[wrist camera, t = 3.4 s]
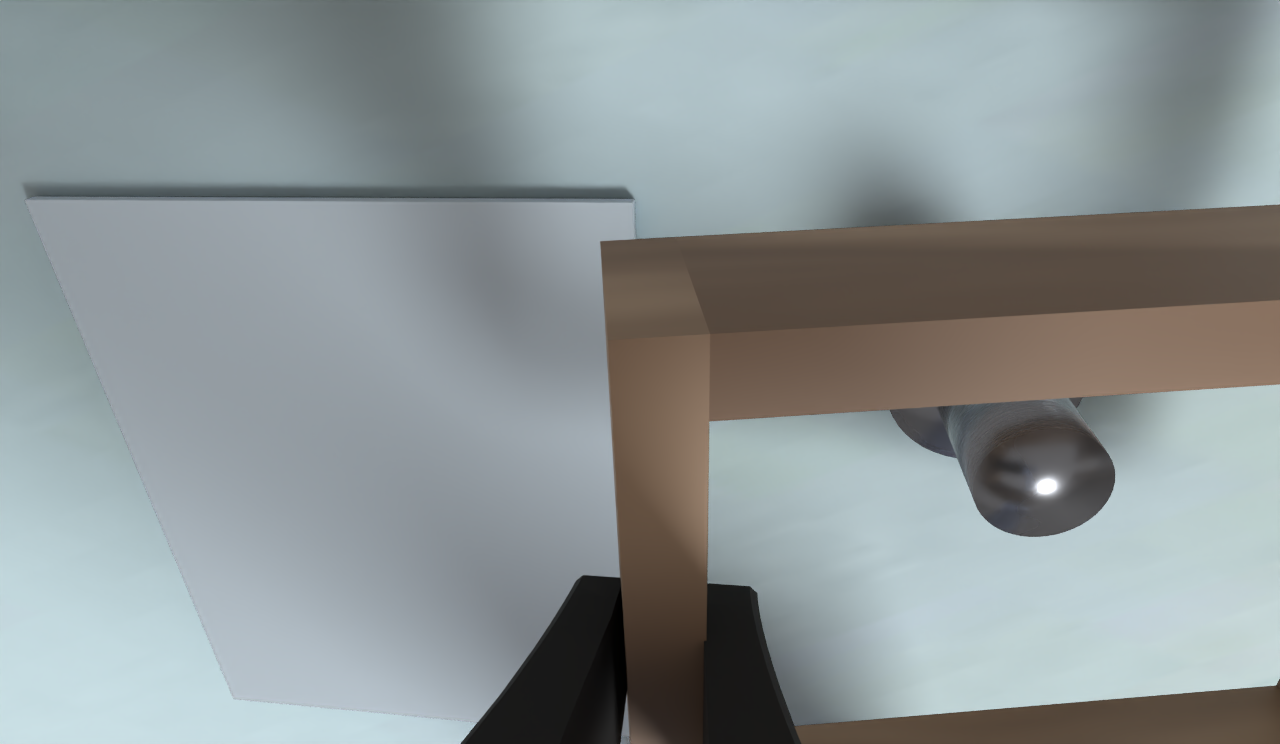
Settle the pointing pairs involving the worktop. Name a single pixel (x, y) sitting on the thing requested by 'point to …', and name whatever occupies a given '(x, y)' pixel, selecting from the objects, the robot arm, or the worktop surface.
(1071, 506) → the post
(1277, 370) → the wooden frame
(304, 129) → the worktop surface
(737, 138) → the worktop surface
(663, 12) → the worktop surface
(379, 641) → the mat
